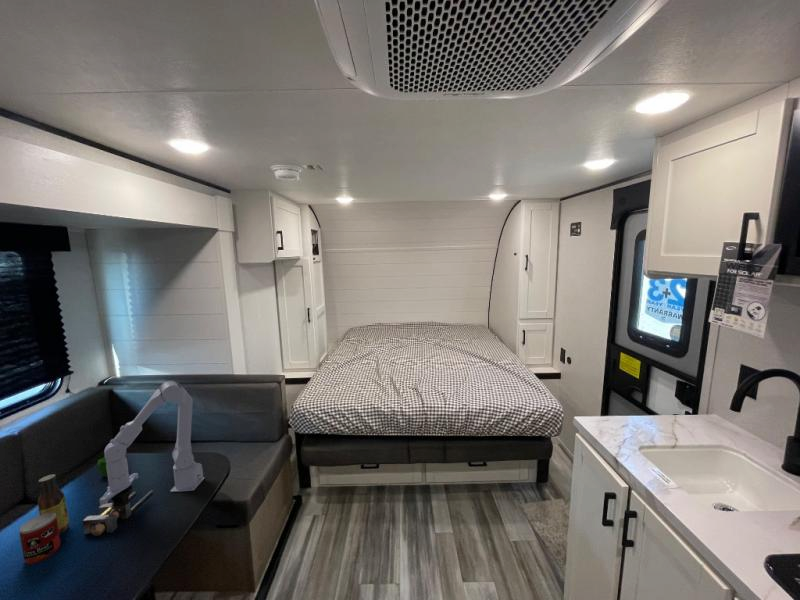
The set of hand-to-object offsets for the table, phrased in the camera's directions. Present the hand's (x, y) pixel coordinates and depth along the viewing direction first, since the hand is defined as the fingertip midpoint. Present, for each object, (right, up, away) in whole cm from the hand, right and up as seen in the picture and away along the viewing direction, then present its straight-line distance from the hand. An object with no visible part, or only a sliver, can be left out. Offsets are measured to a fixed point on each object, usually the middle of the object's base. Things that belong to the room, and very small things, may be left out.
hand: (122, 508), depth 119 cm
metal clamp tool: (0, -1, 0) cm, 1 cm away
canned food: (-10, -3, -17) cm, 20 cm away
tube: (0, -1, -6) cm, 6 cm away
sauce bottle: (-16, -3, -8) cm, 18 cm away
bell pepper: (-26, 0, +25) cm, 36 cm away
